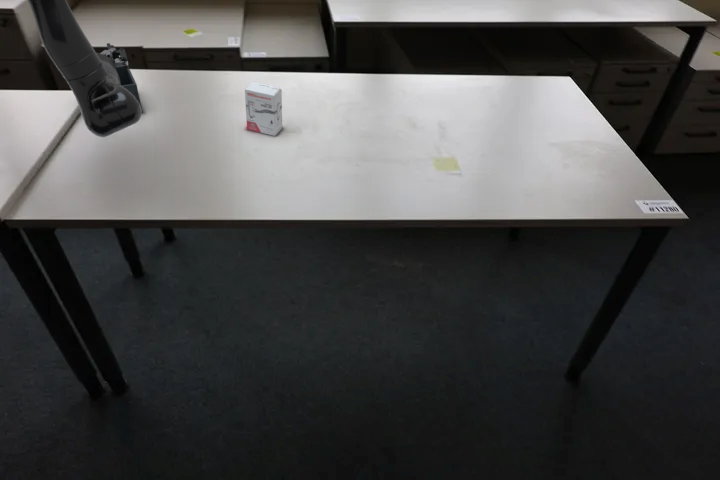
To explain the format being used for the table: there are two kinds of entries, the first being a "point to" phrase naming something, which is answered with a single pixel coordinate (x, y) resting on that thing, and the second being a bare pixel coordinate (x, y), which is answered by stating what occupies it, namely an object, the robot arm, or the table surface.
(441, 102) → the table surface
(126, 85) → the bin
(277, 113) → the ink box
